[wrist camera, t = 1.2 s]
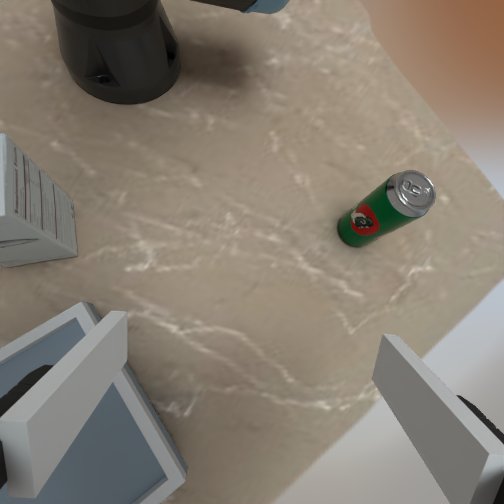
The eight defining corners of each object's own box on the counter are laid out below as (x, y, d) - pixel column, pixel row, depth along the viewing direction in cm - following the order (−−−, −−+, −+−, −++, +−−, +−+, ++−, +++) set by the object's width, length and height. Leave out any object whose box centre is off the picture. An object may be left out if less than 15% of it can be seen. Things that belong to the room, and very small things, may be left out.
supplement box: (6, 269, 31) (-122, 232, 19) (5, 207, 32) (-114, 136, 20) (80, 258, 32) (5, 217, 20) (75, 199, 34) (3, 128, 22)
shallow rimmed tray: (-46, 394, 27) (-109, 410, 22) (102, 305, 31) (81, 301, 26) (41, 573, 25) (-5, 641, 19) (189, 452, 29) (185, 481, 24)
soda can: (364, 254, 38) (432, 223, 27) (331, 237, 38) (385, 197, 26) (375, 224, 39) (445, 181, 28) (344, 207, 39) (400, 157, 28)
